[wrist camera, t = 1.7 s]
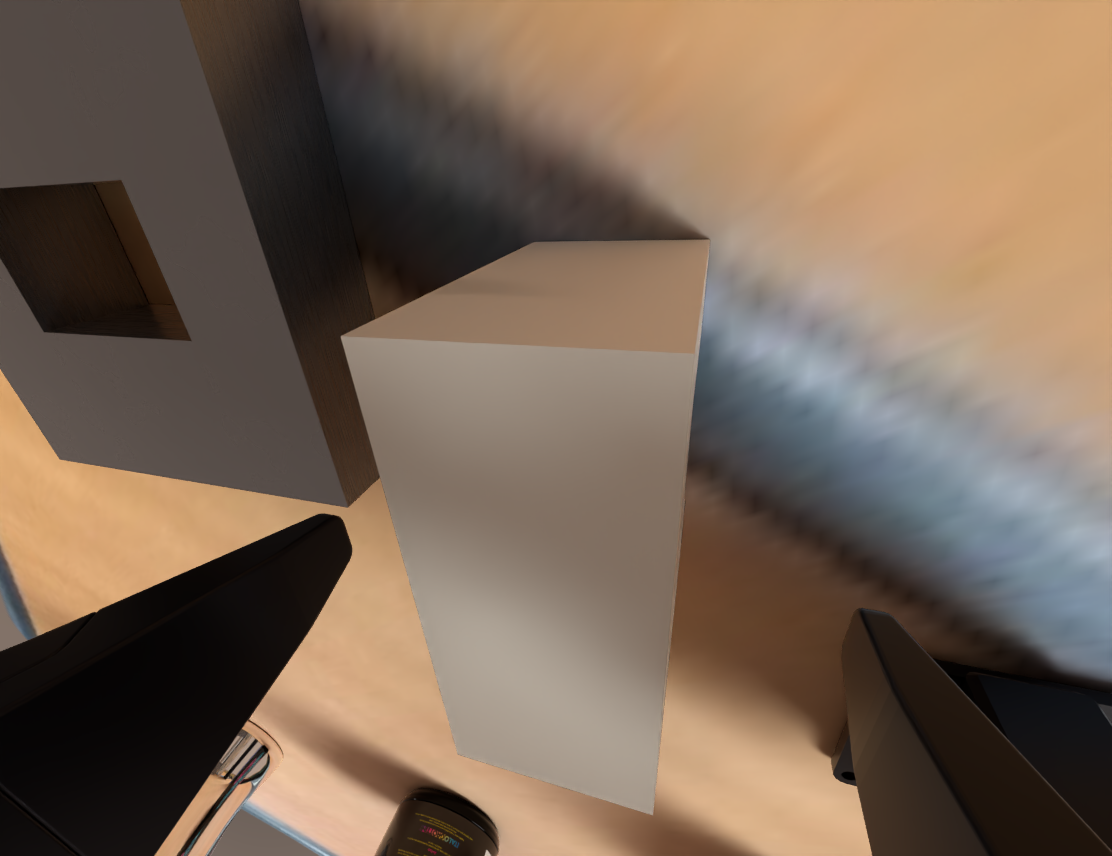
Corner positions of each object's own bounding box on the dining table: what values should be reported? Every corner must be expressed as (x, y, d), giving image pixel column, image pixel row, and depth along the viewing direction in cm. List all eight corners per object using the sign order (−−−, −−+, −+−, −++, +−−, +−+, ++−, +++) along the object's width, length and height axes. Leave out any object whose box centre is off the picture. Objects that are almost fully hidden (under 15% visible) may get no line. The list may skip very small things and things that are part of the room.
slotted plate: (406, 451, 16) (347, 507, 13) (145, 419, 19) (59, 459, 17) (91, -855, 6) (-326, -1519, 4) (-326, -468, 10) (-692, -683, 7)
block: (680, 552, 15) (652, 815, 9) (555, 532, 16) (458, 754, 10) (710, 239, 10) (695, 353, 5) (534, 241, 11) (340, 335, 6)
